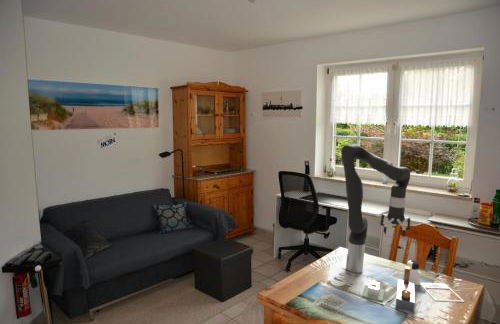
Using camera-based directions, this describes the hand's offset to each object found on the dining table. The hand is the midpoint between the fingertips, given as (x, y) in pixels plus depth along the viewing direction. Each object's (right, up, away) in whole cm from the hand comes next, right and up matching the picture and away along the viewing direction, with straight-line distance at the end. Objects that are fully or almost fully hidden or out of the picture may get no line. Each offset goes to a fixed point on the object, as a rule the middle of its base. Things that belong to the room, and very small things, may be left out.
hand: (394, 235), depth 181 cm
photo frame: (+26, -32, +2) cm, 41 cm away
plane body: (+3, -31, -6) cm, 32 cm away
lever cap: (-11, -29, -2) cm, 32 cm away
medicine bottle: (+15, -29, +13) cm, 35 cm away
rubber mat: (-11, -30, -2) cm, 32 cm away
